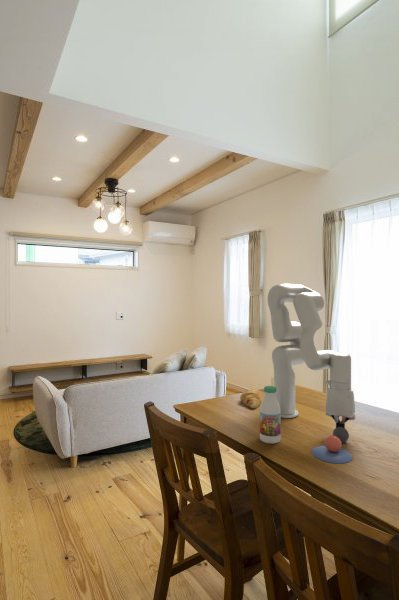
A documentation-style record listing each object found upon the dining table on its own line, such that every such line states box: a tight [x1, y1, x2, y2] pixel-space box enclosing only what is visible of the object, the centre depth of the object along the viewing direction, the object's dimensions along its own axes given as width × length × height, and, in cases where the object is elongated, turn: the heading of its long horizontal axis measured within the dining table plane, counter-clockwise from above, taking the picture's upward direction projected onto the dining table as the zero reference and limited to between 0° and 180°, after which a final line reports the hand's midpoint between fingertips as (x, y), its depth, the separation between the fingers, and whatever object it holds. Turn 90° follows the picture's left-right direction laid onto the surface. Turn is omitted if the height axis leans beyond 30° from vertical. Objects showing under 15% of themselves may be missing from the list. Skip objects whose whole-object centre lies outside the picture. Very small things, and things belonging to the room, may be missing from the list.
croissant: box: [239, 389, 262, 409], centre depth 177 cm, size 21×10×8 cm, turn 2°
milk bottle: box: [259, 385, 282, 445], centre depth 131 cm, size 8×8×20 cm
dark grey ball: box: [332, 427, 350, 444], centre depth 129 cm, size 6×6×6 cm
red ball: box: [324, 434, 342, 452], centre depth 121 cm, size 6×6×6 cm
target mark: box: [311, 445, 353, 465], centre depth 119 cm, size 13×13×1 cm
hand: (340, 432), depth 134 cm, fingers closed
